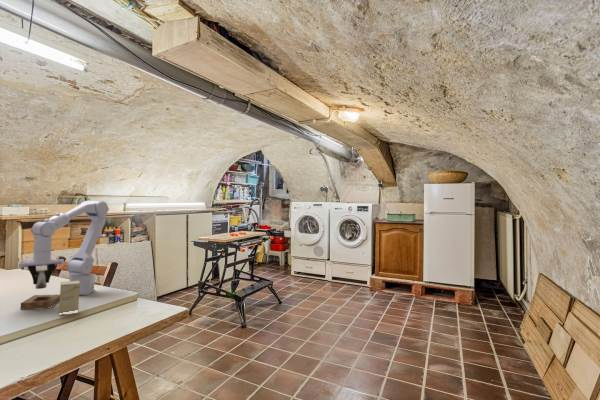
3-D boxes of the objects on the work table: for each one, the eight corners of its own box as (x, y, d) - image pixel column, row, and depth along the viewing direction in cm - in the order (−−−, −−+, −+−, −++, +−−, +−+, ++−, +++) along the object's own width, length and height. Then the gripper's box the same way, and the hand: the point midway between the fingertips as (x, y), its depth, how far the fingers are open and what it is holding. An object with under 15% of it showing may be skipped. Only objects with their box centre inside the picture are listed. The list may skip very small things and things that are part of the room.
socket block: (61, 300, 140) (61, 294, 140) (49, 308, 130) (50, 302, 130) (34, 300, 137) (34, 295, 137) (20, 309, 127) (20, 303, 127)
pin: (45, 285, 136) (46, 269, 136) (47, 287, 134) (47, 271, 134) (34, 287, 134) (35, 270, 134) (36, 289, 131) (36, 272, 131)
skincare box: (58, 316, 123) (60, 284, 123) (58, 312, 126) (60, 282, 126) (78, 313, 127) (80, 282, 127) (78, 309, 130) (79, 280, 130)
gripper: (62, 247, 141) (61, 278, 142) (18, 250, 131) (17, 283, 132) (65, 250, 136) (63, 282, 137) (19, 253, 126) (18, 287, 127)
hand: (41, 283), depth 134 cm, fingers closed on pin, 4 cm apart
